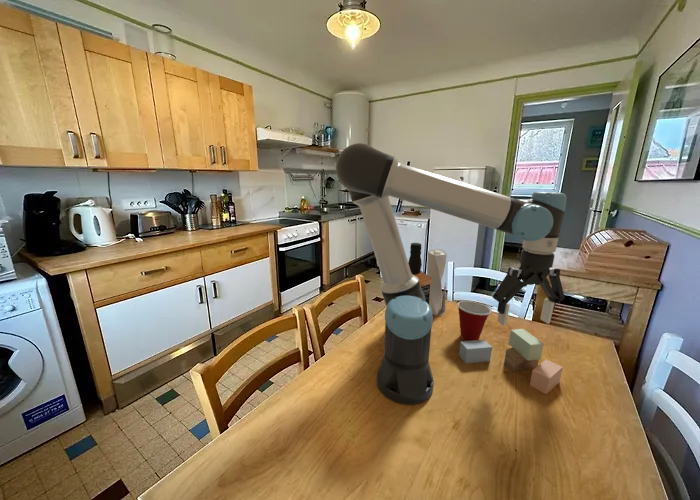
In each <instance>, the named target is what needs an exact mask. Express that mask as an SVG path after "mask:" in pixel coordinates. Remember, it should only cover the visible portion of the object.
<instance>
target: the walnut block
mask: <svg viewBox="0 0 700 500" xmlns="http://www.w3.org/2000/svg"><path fill="white" fill-rule="evenodd" d="M539 362H540V359H539V360H529V361H528V360H526V359H525V358H524V357H523V356H522V355H521V354H519V353H518V352H517V351H516V350H515V349H514V348H512V347H509V348H506V350H505V355H504V361H503V363H504V364H505V365H506V366H507V367H508V368H509V369H511V370H512V371H513V372H518V371H519V372H520V371H526V370H530V369H532V370H533V369H535V368H536V367H537V366H538V365H539Z"/></svg>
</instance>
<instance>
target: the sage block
mask: <svg viewBox="0 0 700 500" xmlns="http://www.w3.org/2000/svg"><path fill="white" fill-rule="evenodd" d="M508 345H509V346H510V348H514V349H515V350H516V351H517V352H518V353H519V354H521V355H522V356H523V357H524V358H525V359H526V360H528V361H529V360H539V361H540V360H541V358H542V355H543V348H544V342H542V341H541V340H539V339H538V338H537V337H536V336H533V335H532V334H531V333H530V332H529V331H527V330H526V329H524V328H515V329H510V334H509V339H508Z"/></svg>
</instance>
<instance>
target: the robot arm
mask: <svg viewBox="0 0 700 500" xmlns="http://www.w3.org/2000/svg"><path fill="white" fill-rule="evenodd" d="M335 173H336V176H337V178H338V180H339V183H340V184H341V185H342V186H343V187H344V188H346V189H347V191H348V193H349V197H350V199H351V202H352V203H353V204H354V205H356V206H358V207H359V209H360V213H361V216H362V219H363V222H364V225H365V229H366V232H367V235H368V237H369V240H370V244H371V246H372V247H371V248H372V251H373V253H374V256H375V259H376V263H377V265H378V268H379V271H380V274H381V278H382V281H383V283H382V285H381V286H380V291H381V294H382V297H383V300H384V303H385V306H386V308H385V311H384V321H385V322H384V323H385V325H384V349H383V350H384V351H383V353H384V354H383V357H382V359H381V362H380V364H379V367H378V369H377V372H376V384H377V388H378V389H379V391H380V392H381V393H382V394H383V395H384V397H386V398H387V399H389V400H391V401H393V402H395V403H398V404H403V405H417V404H421V403H424V402H425V401H427V400H428V399H429V398H431V396H432V395H433V393H434V392H433V391H434V384H435V382H434V380H435V379H434V376H433V372H432V369H431V365H430V362H429V358H430V350H431V349H430V347H431V338H432V335H431V334H432V326H433V322H434V319H433V317H434V315H432V310H431V307H430V306H429V304H428V303H427V302H426V299H425V295H424V293H423V292H422V289H421V285H420V282H419V279H418V277H417V276H414V275H412V274H411V270H410V267H409V264H408V262H409V259H408V257H407V255H406V250H405V247H404V245H403V244H404V243H403V241H402V238H401V237H402V236H401V234H400V231H399V227H398V224H397V221H396V218H395V213H394V210H393V207H392V204H391V200H390V197H393V198H395V199H399V200H401V201H404V202H409V203H411V204H415V205H417V206H421V207H424V208H427V209H431V210H434V211H437V212H440V213H444V214H446V215H450V216H452V217H457V218H459V219H462V220H466V221H468V222H472V223H475V224H478V225H481V226H483V227H488V228H492V229H494V230H497V231H500V232H503V233H505V234H508V235H512V236H514V237H516V238H517V239H520V240H523V242H522V246H521V248H522V250H521V253H520V256H519V263H520V266H519V268H514V267H512V266H510V267H508V269H507V273H506V274H505V277H504V278H503V280H502V282H501V283H499V285H498V287H497V289H496V290H495V291H494V294H493V295H492V299H494V300H495V301H496V302H498V304H497V310H496V311H497V312H498V315H497V322H498V323H499V324H501V325H502V326H503V327H505V326H507V323H508V317H509V311H510V305H511V304H510V303H509V302H510V301H511V300H512V299H513V298H514V297H515V296H517V294H518V293H519V292H520V291H521V290H522V289H523V288H525V287H527V286H528V285H529V286H533V285H538V286H540V288H541V289H542V291H543V293H544V294H545V296H546V297H547V298H544V300H543V305H542V309H541V314H540V318H539V319H540V320H541V321H543V322H544V323H545V324H549V325H550V323H551V320H552V315H553V312H555V309H556V306H557V304H560V303H561V302H562V301H561V300H564V299H565V293H564V289H563V285H562V281H561V280H562V279H561V277H560V276H561V269H560V268H558V267H555V266H554V259H555V254H554V253H555V252H557V251H556V250H557V246H558V241H559V237H560V234H561V229H562V223H563V220H564V216H565V214H566V208H567V207H566V206H567V200H568V199H567V195H566V193H563V192H555V191H554V192H553V191H534V192H533V193H532V194H531V197H530V198H527V199H521V198H520V199H519V198H514V197H510V196H508V195H504V194H501V193H498V192H494V191H493V190H492V191H491V190H488V189H486V188H481V187H478V186H474V185H472V184H468V183H466V182H463V181H459V180H456V179H453V178H449V177H446V176H442V175H440V174H437V173H433V172H431V171H426V170H424V169H420V168H418V167H413V166H410V165H407V164H404V163H401V162H400V161H399V159H398V157H397V156H394V155H390V154H389V153H384V152H383V151H381V150H379V149H376V148H374V147H373V146H371V145H369V144H366V143H352V144H350V145H348V146H346V147H345V148H344V149H343V150H342V151H341V152H340V153H339V155H338V158H337V160H336V162H335ZM547 277H548V278H547Z"/></svg>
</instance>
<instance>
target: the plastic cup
mask: <svg viewBox="0 0 700 500" xmlns="http://www.w3.org/2000/svg"><path fill="white" fill-rule="evenodd" d="M457 308H458V309H457V310H458V315H459V317H458V318H459V319H458V320H459V329H460V336H461V339H463V340H464V341H474V340H480V337H481V334H482V332H483V330H484V327H485V324H486V322H487V319H488V317H489V316H490V315H491V313H492V309H491V308H490V307H489V306H487V305H485V304H483V303H480V302H475V301H470V300H461V301H458V302H457Z"/></svg>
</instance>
